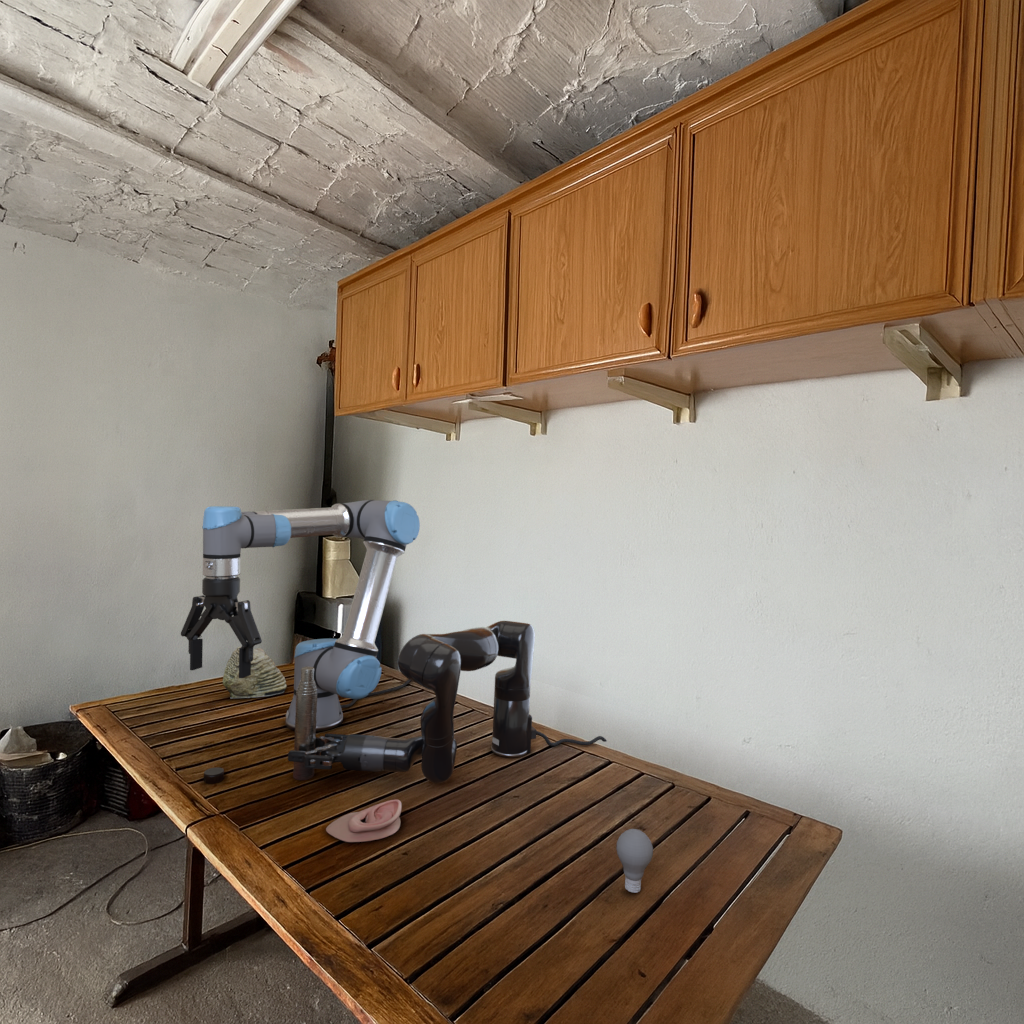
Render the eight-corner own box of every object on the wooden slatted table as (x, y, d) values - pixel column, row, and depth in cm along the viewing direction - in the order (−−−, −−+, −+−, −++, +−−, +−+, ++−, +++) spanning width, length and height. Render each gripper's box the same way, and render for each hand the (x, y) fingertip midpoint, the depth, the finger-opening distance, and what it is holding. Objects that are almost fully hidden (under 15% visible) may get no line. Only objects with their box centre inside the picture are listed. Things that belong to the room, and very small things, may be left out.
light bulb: (610, 879, 108) (613, 822, 108) (644, 879, 109) (647, 822, 109) (619, 902, 102) (622, 840, 102) (655, 901, 103) (658, 840, 103)
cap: (226, 780, 139) (226, 772, 139) (206, 785, 137) (207, 776, 136) (220, 774, 142) (220, 765, 142) (201, 778, 140) (201, 770, 140)
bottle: (289, 779, 141) (294, 670, 141) (297, 771, 146) (301, 664, 145) (309, 781, 141) (313, 671, 140) (317, 772, 145) (321, 666, 145)
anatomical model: (318, 816, 117) (346, 789, 129) (317, 837, 118) (346, 808, 129) (385, 827, 115) (408, 798, 126) (384, 848, 115) (407, 818, 126)
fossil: (218, 695, 195) (220, 647, 195) (278, 685, 208) (279, 640, 207) (228, 703, 189) (230, 653, 188) (289, 692, 201) (290, 645, 201)
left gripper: (163, 574, 139) (162, 669, 140) (255, 583, 131) (253, 684, 132) (191, 570, 146) (190, 661, 147) (279, 578, 138) (278, 675, 139)
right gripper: (376, 725, 150) (307, 721, 150) (358, 748, 135) (283, 744, 136) (374, 756, 150) (306, 752, 150) (357, 783, 135) (282, 778, 136)
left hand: (220, 672), depth 139 cm, fingers open, 13 cm apart
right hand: (295, 748), depth 143 cm, fingers open, 7 cm apart
